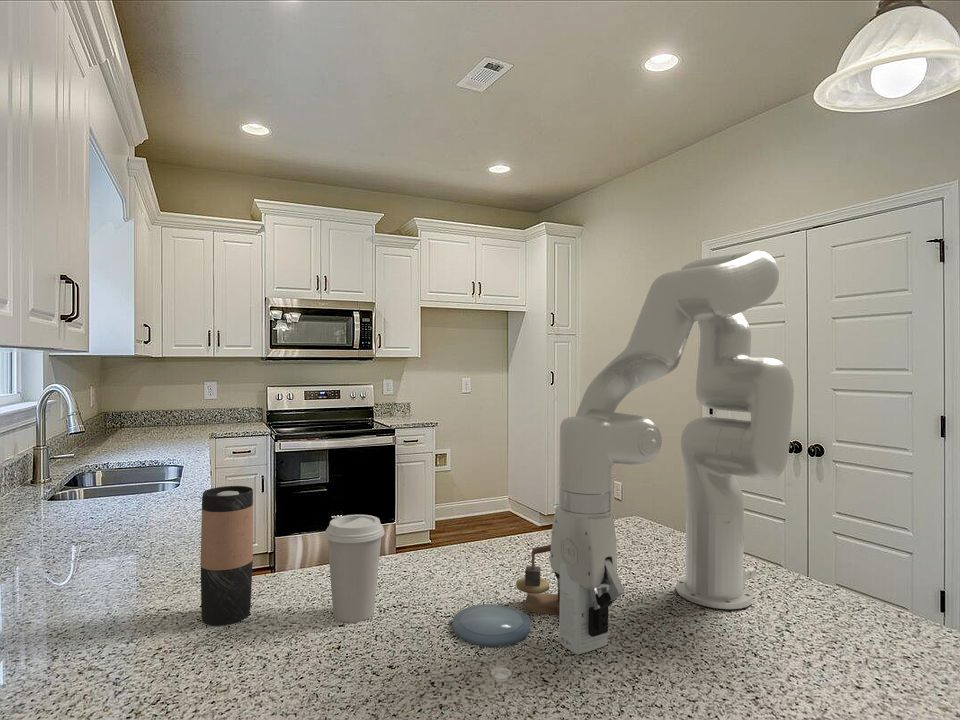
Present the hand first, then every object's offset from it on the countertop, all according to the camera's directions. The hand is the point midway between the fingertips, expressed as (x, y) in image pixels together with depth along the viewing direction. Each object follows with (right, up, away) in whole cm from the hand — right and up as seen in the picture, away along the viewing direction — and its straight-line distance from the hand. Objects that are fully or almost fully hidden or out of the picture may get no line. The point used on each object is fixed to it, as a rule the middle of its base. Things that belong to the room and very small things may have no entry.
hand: (583, 623), depth 83 cm
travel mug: (-56, -3, +8) cm, 56 cm away
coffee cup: (-36, -3, +9) cm, 37 cm away
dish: (-13, -3, +5) cm, 15 cm away
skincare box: (0, -3, 0) cm, 3 cm away
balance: (-1, -3, +12) cm, 12 cm away
